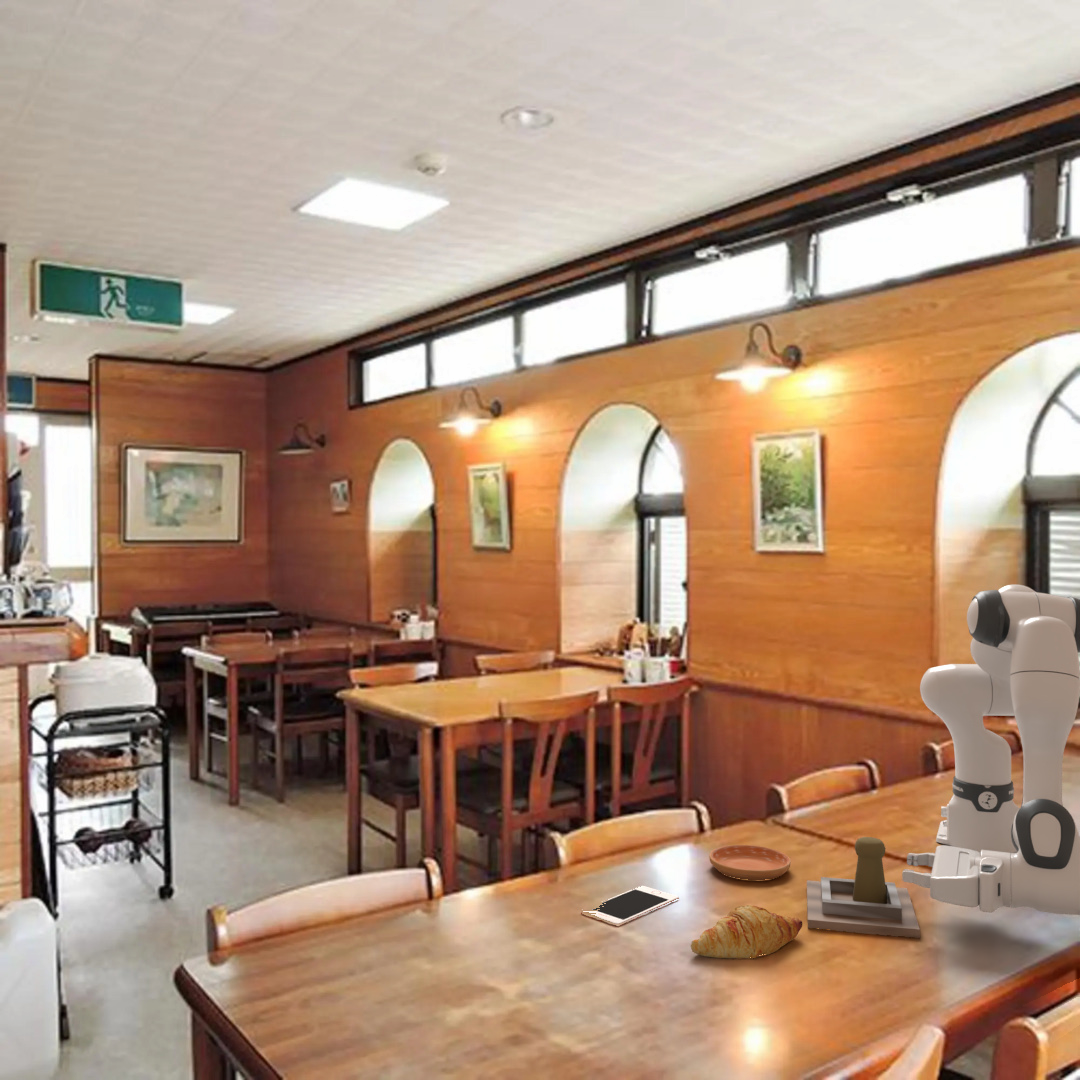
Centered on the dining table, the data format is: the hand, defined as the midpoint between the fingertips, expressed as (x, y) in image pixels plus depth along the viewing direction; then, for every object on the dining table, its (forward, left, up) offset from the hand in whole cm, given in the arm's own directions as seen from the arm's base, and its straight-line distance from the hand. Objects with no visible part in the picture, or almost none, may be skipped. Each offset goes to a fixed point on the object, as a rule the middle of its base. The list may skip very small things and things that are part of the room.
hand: (904, 866), depth 177 cm
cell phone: (+6, -48, -10) cm, 49 cm away
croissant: (+19, -26, -9) cm, 34 cm away
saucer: (-19, -28, -10) cm, 35 cm away
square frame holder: (-1, -8, -9) cm, 12 cm away
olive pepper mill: (-3, -6, -8) cm, 10 cm away
